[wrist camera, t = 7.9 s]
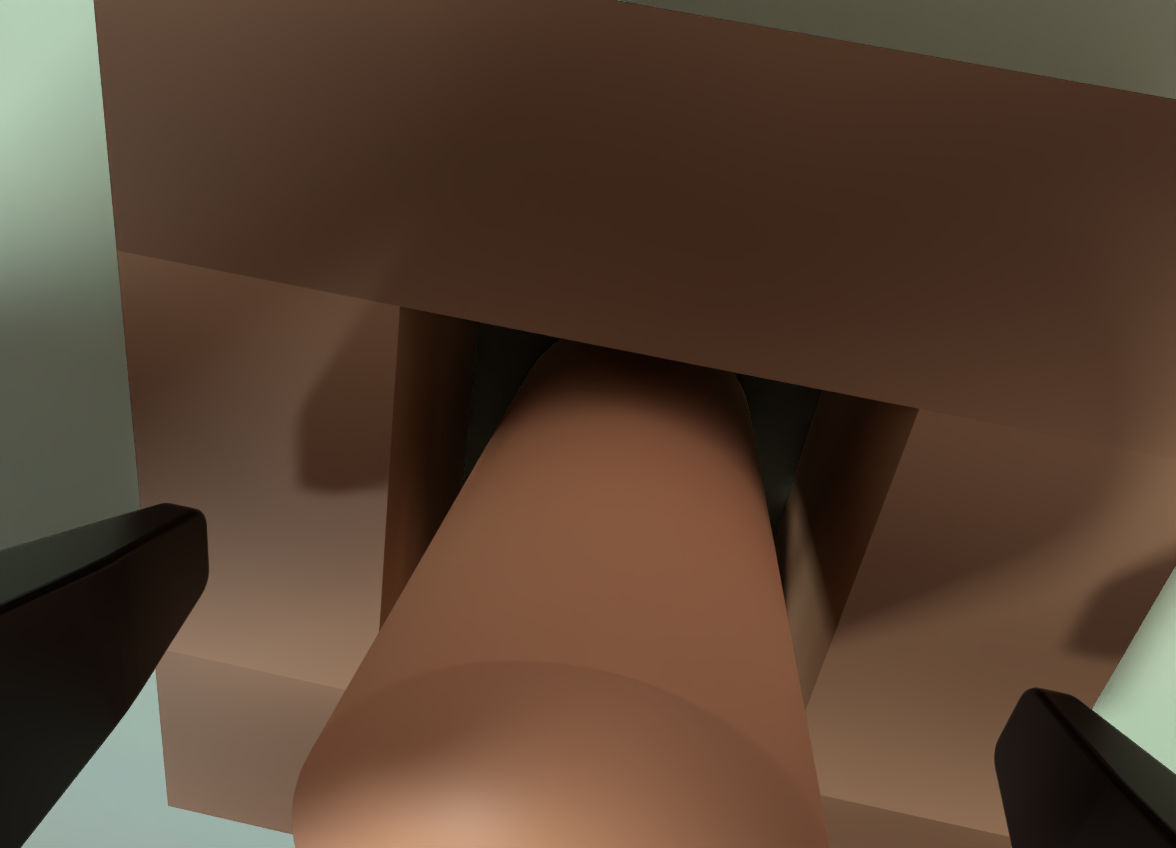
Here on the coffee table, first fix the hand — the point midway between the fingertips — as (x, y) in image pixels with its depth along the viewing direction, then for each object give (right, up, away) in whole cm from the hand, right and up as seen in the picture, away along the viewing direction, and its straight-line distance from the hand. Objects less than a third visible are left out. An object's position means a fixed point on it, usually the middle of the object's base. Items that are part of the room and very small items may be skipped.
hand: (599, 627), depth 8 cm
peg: (+1, +2, +5) cm, 5 cm away
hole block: (+1, +2, +5) cm, 5 cm away
